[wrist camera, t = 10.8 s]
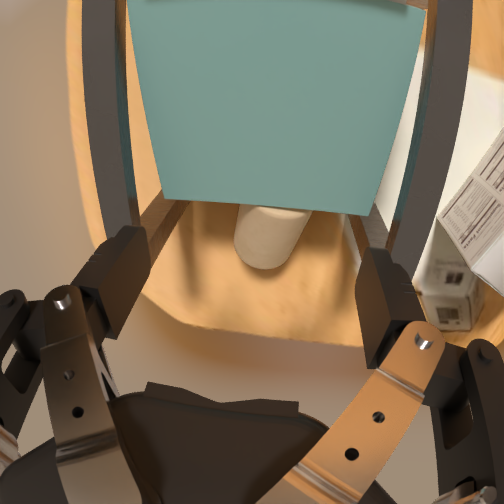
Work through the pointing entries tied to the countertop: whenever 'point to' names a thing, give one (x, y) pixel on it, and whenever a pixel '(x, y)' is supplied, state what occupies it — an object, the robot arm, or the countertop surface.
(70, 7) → the countertop surface
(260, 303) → the countertop surface
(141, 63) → the trapdoor
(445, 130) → the frame
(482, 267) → the supplement box
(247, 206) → the candle
